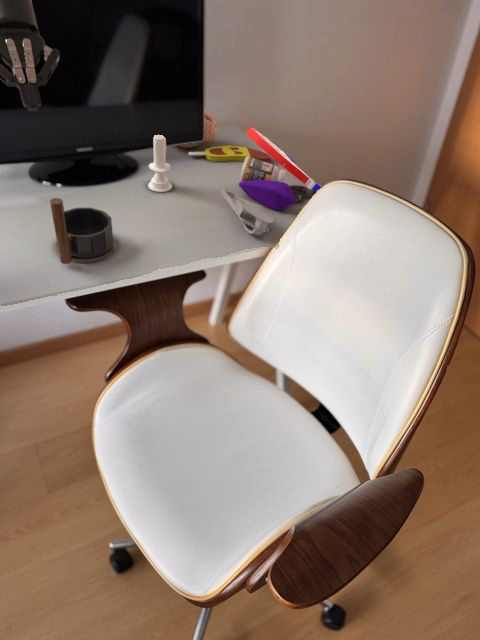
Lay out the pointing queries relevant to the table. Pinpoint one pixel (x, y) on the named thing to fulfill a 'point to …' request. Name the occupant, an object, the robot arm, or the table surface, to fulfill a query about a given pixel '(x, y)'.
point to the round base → (93, 259)
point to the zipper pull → (249, 213)
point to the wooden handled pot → (81, 231)
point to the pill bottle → (261, 171)
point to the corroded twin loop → (299, 191)
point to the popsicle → (232, 154)
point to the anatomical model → (205, 130)
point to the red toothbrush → (282, 158)
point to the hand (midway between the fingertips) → (33, 109)
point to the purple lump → (269, 193)
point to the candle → (159, 166)
